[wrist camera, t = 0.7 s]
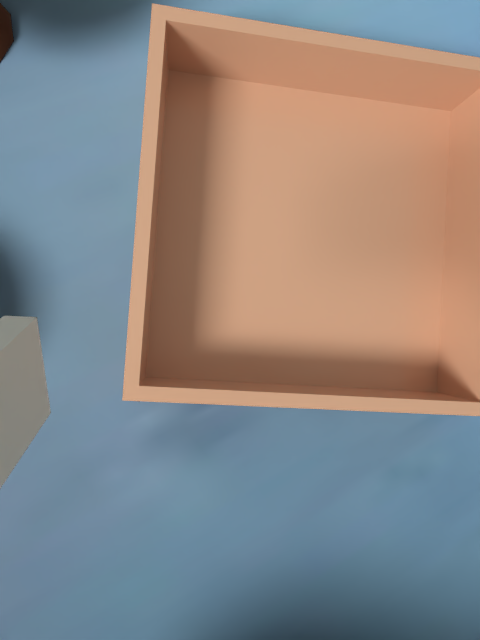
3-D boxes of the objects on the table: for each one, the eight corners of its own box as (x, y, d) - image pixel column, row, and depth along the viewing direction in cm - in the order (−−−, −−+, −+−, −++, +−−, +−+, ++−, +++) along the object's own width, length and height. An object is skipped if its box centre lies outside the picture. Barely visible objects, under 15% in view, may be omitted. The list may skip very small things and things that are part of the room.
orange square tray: (443, 402, 31) (493, 416, 26) (132, 387, 28) (122, 400, 23) (458, 104, 32) (510, 62, 27) (156, 59, 29) (152, 3, 24)
